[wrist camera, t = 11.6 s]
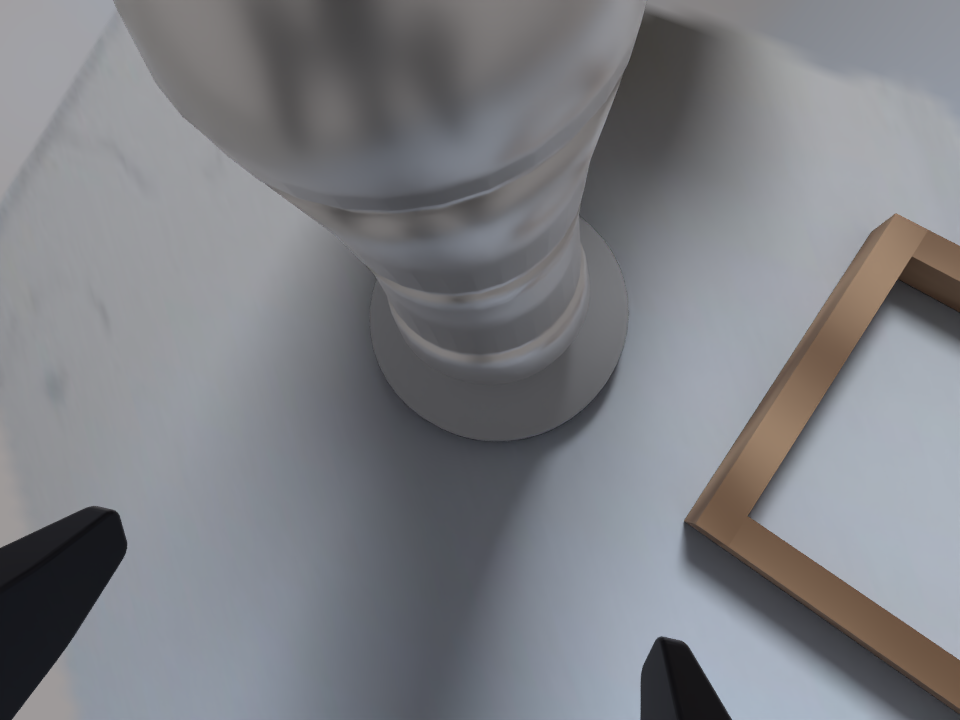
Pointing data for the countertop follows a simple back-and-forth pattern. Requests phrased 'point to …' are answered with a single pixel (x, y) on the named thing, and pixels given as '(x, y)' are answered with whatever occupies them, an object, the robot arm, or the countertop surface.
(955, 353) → the countertop surface
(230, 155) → the plastic bottle
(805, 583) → the walnut collar
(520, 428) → the slate coaster
